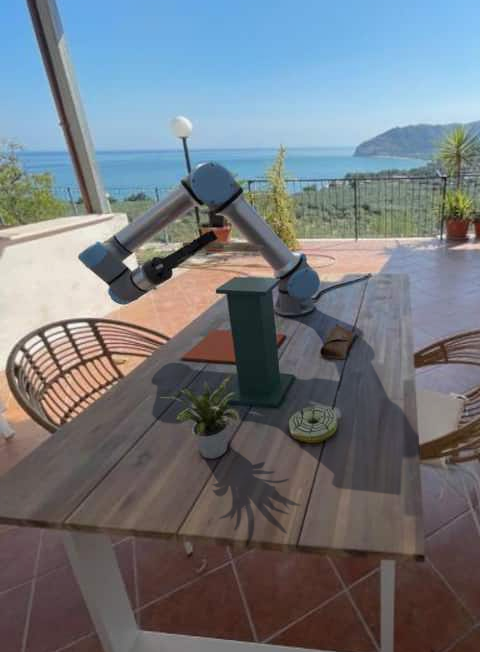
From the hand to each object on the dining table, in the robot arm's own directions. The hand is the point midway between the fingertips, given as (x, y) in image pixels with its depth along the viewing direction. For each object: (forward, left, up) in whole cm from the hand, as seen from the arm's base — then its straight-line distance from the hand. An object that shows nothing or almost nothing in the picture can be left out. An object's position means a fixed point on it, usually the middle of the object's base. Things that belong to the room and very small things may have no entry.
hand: (212, 235), depth 109 cm
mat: (-4, +1, -37) cm, 37 cm away
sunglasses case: (-10, +34, -37) cm, 51 cm away
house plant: (+42, +16, -37) cm, 58 cm away
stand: (+18, +18, -37) cm, 45 cm away
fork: (0, +3, -4) cm, 5 cm away
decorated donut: (+32, +36, -37) cm, 61 cm away
